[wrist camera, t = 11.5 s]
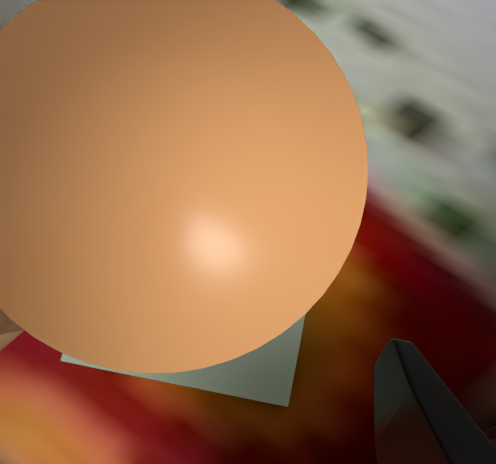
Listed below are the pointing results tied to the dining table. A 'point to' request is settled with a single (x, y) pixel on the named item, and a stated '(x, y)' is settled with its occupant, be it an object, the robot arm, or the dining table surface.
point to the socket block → (8, 330)
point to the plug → (171, 177)
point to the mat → (240, 371)
